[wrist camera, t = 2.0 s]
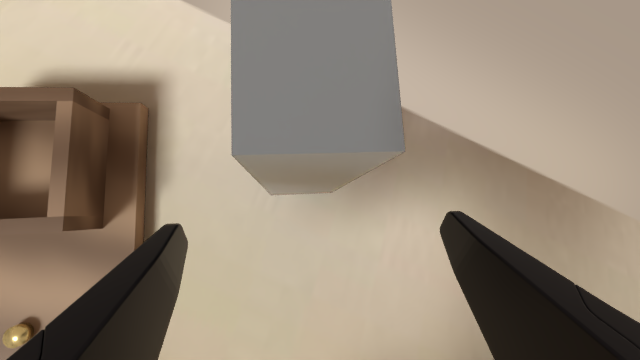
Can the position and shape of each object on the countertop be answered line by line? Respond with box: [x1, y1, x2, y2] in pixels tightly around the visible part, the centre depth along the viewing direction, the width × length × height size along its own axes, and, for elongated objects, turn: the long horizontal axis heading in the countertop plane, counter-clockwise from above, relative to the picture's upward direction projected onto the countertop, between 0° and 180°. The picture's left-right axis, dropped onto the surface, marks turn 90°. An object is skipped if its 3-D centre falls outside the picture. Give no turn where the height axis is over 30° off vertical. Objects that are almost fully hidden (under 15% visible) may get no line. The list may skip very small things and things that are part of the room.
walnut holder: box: [0, 87, 148, 360], centre depth 15 cm, size 19×12×4 cm, turn 3°
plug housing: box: [231, 0, 405, 195], centre depth 13 cm, size 4×4×13 cm
